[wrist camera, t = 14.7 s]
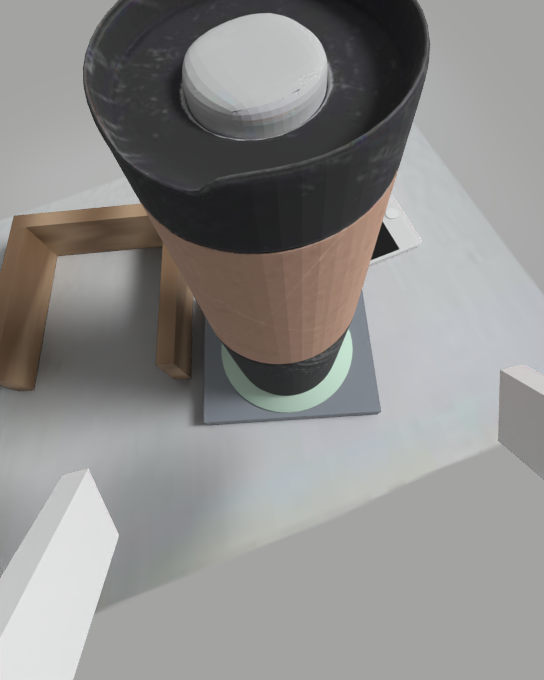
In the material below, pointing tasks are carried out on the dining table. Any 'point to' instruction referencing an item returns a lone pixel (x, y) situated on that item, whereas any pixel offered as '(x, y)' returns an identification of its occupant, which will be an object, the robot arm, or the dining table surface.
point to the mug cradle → (38, 272)
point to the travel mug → (263, 156)
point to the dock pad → (322, 401)
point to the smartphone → (394, 234)
